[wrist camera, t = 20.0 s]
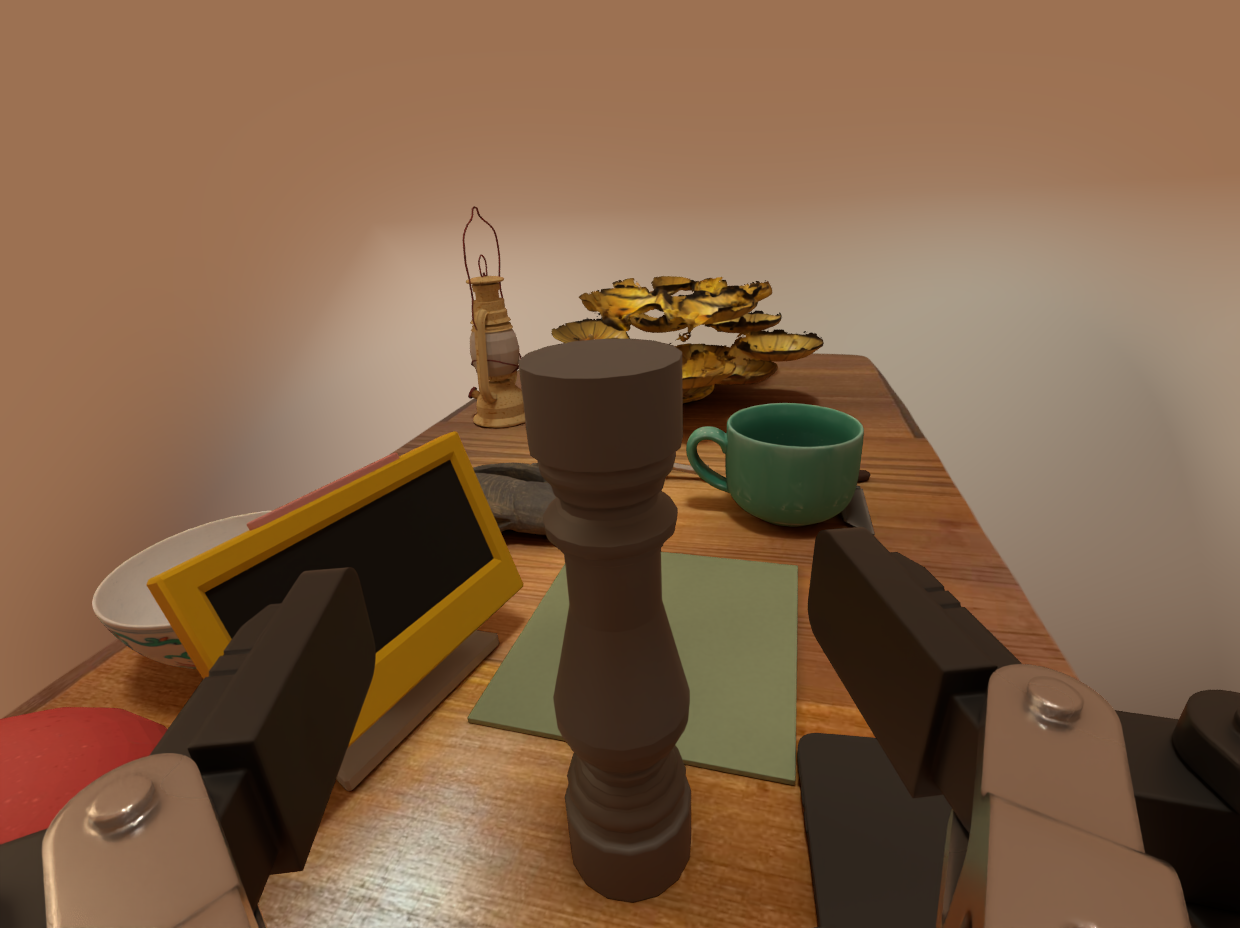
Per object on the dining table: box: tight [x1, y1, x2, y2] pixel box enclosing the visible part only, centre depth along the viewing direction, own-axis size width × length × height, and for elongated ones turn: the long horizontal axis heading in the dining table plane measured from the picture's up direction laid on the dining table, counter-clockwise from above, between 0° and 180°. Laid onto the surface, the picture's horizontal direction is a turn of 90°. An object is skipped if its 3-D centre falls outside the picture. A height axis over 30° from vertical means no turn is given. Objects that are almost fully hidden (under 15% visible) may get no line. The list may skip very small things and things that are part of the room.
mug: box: [686, 403, 864, 527], centre depth 60 cm, size 17×13×10 cm
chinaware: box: [92, 511, 271, 669], centre depth 45 cm, size 15×15×8 cm
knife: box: [841, 470, 875, 535], centre depth 62 cm, size 14×4×1 cm, turn 166°
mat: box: [468, 552, 798, 785], centre depth 45 cm, size 20×22×1 cm
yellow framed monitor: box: [146, 431, 523, 791], centre depth 38 cm, size 20×8×16 cm, turn 153°
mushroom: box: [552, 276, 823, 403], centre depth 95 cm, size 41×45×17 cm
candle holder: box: [518, 339, 691, 902], centre depth 26 cm, size 6×6×25 cm
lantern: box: [463, 207, 525, 428], centre depth 87 cm, size 12×10×30 cm
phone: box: [797, 733, 952, 928], centre depth 28 cm, size 7×1×15 cm
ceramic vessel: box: [473, 463, 556, 535], centre depth 64 cm, size 5×25×15 cm
